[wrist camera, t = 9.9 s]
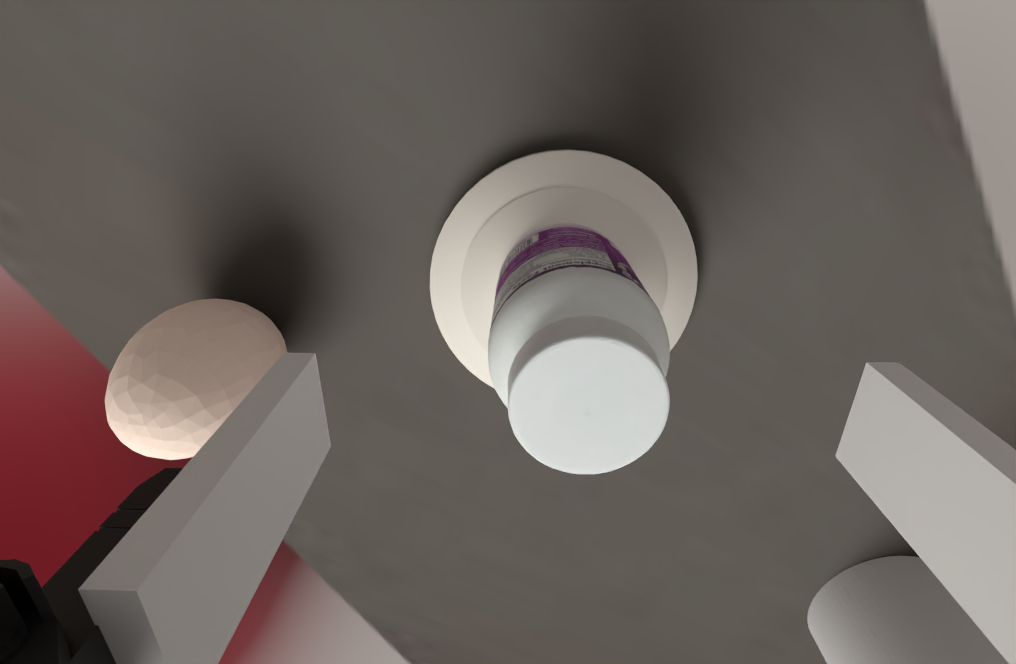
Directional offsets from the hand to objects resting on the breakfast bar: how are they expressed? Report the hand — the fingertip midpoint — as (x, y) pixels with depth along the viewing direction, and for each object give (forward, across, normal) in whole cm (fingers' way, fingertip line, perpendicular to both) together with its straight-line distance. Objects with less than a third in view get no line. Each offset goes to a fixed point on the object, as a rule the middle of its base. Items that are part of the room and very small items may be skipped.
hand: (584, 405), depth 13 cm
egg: (+11, -14, -3) cm, 18 cm away
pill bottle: (+10, 0, 0) cm, 10 cm away
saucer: (+10, 0, -1) cm, 11 cm away
